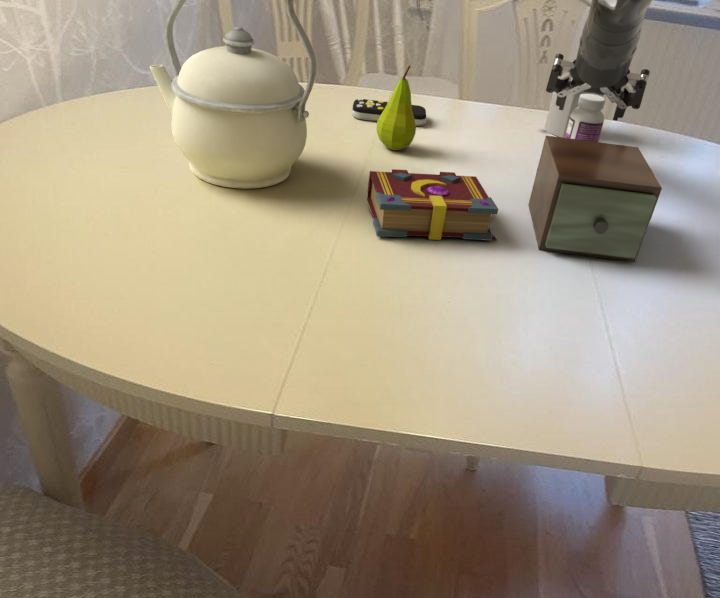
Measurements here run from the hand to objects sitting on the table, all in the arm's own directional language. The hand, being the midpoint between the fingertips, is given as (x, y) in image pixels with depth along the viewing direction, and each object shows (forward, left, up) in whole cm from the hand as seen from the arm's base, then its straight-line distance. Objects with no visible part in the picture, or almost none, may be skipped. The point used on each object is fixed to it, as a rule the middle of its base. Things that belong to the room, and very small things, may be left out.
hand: (589, 109), depth 119 cm
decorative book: (+4, +40, -8) cm, 41 cm away
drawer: (-13, +29, -7) cm, 33 cm away
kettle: (+34, +46, -8) cm, 58 cm away
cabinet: (-12, +27, -8) cm, 30 cm away
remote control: (+32, +8, -8) cm, 34 cm away
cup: (+7, -13, -8) cm, 17 cm away
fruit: (+23, +20, -8) cm, 31 cm away
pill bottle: (0, 0, -8) cm, 8 cm away
